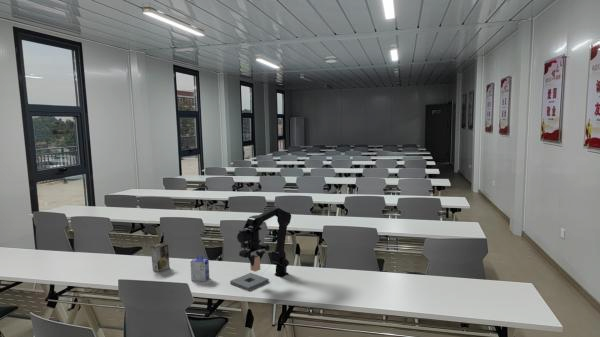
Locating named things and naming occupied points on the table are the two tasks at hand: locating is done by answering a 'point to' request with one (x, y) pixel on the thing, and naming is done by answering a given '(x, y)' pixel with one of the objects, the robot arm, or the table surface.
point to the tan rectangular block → (256, 264)
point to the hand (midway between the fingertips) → (255, 264)
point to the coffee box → (160, 257)
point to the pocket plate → (254, 283)
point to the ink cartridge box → (199, 269)
